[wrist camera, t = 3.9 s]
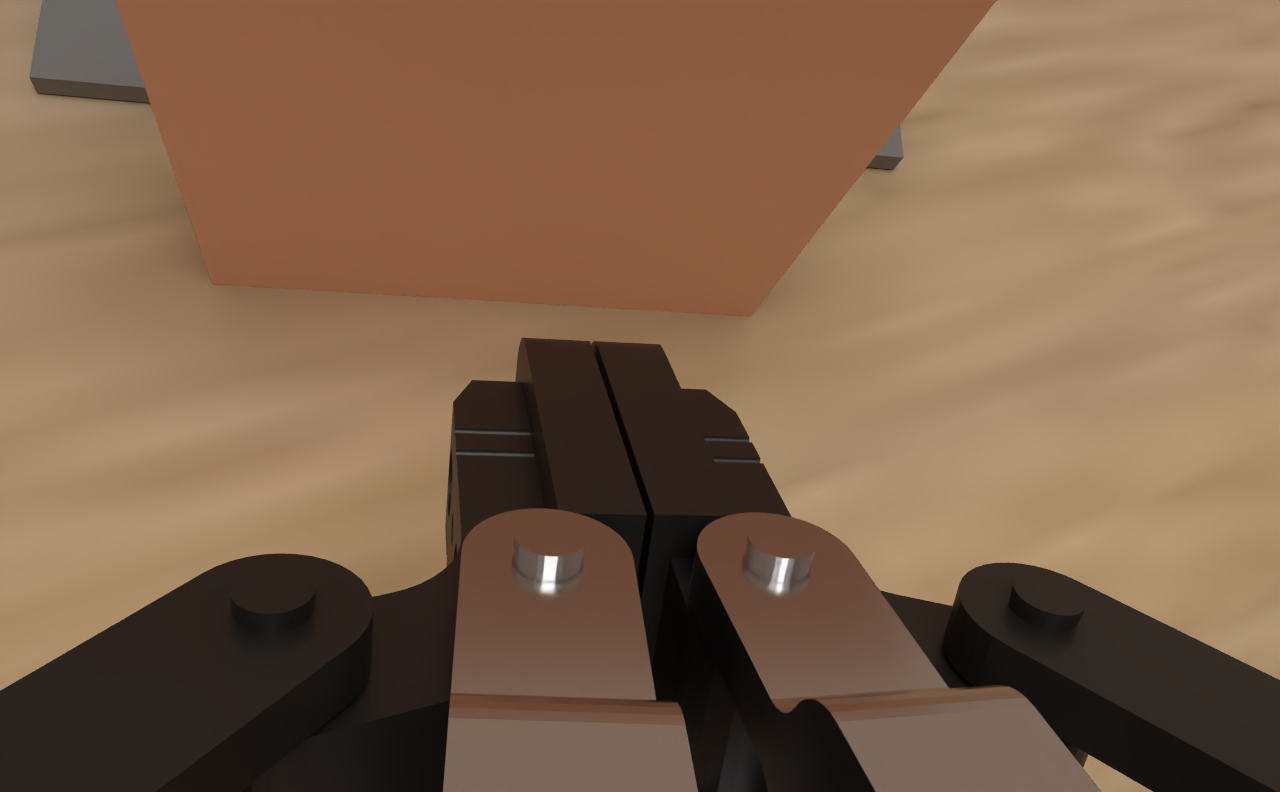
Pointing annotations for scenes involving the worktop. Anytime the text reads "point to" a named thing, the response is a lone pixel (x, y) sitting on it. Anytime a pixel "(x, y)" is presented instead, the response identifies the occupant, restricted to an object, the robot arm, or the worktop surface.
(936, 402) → the worktop surface
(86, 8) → the mat
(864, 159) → the tile
